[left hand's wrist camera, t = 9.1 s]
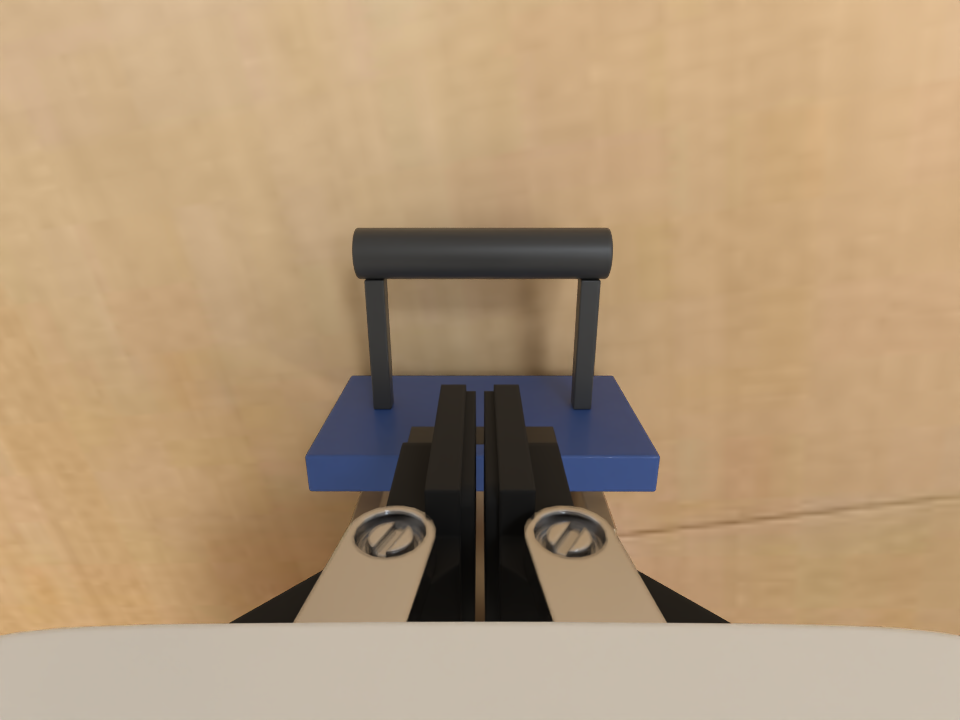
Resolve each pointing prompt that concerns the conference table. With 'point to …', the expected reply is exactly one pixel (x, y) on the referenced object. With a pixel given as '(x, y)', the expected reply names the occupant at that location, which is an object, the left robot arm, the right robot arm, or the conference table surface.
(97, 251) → the conference table surface
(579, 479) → the drawer
